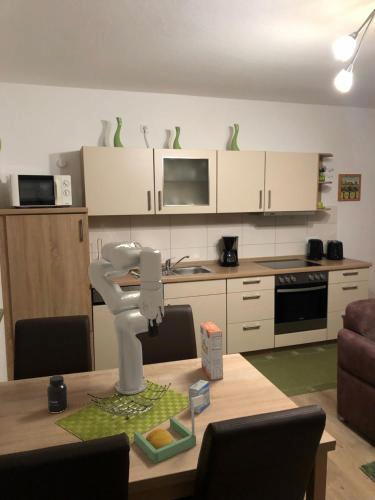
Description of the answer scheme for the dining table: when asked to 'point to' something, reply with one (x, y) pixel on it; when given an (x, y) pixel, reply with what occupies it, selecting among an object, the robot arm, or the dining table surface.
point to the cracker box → (211, 350)
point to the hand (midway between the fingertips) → (153, 335)
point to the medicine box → (200, 389)
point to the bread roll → (159, 438)
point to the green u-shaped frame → (177, 446)
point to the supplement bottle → (57, 394)
